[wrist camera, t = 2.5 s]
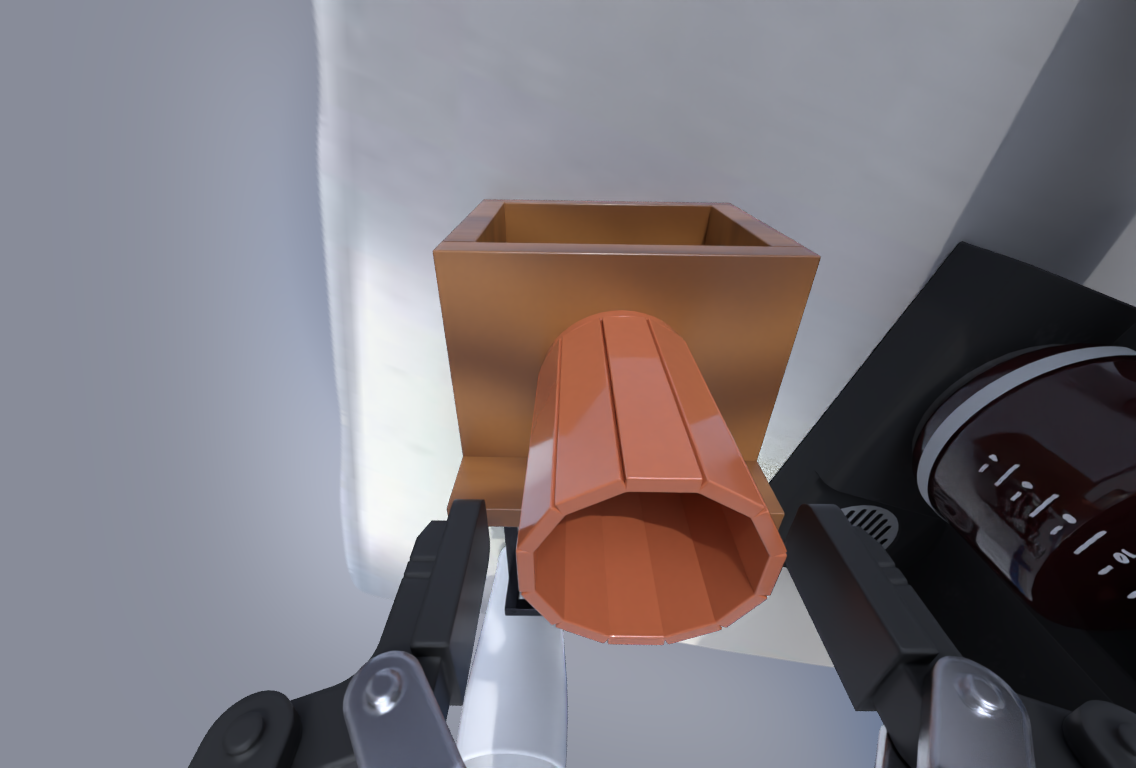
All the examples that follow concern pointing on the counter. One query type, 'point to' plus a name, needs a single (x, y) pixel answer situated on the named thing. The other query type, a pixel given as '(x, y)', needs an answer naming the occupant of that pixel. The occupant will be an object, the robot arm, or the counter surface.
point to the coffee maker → (998, 472)
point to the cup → (638, 492)
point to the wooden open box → (608, 283)
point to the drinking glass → (515, 690)
